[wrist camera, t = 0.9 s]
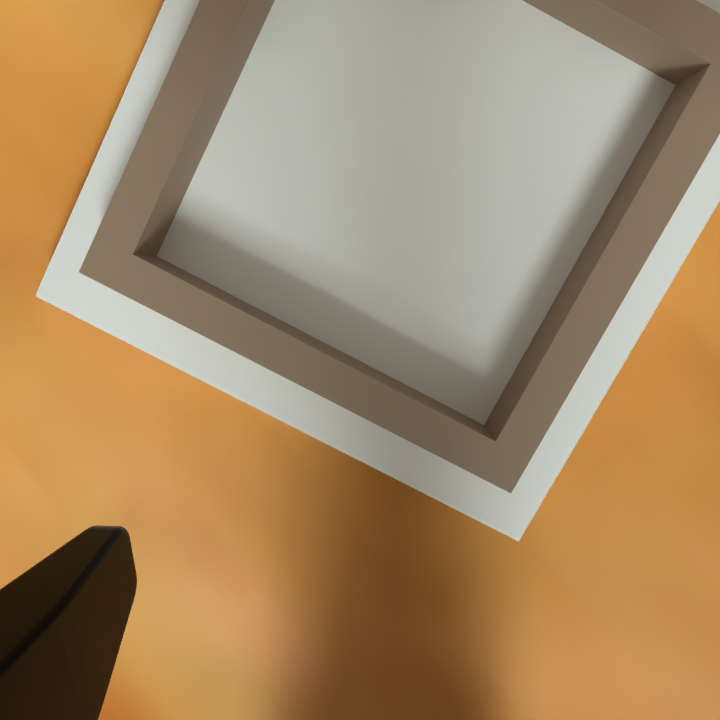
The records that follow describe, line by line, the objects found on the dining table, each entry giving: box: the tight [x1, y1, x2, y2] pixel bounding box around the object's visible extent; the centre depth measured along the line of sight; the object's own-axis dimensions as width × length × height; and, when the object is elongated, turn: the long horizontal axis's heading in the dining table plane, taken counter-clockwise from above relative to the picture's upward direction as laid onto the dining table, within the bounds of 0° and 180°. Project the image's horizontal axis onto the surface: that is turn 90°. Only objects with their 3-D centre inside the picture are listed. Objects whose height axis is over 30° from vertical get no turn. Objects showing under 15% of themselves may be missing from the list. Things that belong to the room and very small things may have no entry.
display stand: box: [35, 0, 720, 542], centre depth 19 cm, size 18×18×3 cm
